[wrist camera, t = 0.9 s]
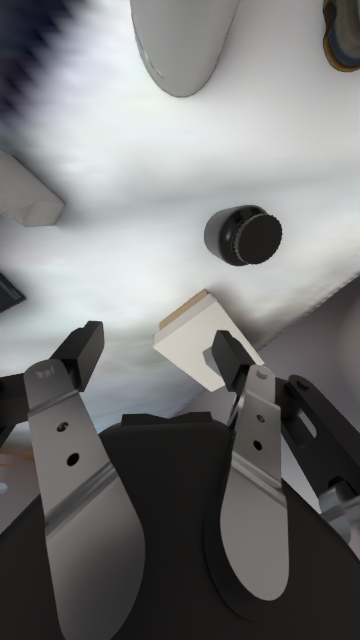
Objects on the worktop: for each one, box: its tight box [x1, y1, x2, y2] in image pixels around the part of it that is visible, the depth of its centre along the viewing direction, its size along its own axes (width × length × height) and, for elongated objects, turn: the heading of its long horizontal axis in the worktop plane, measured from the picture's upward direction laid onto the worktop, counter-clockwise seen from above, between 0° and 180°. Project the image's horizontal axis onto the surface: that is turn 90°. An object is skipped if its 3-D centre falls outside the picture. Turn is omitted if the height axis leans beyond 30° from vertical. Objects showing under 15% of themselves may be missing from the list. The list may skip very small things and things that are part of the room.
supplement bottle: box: [204, 205, 282, 266], centre depth 22 cm, size 7×7×12 cm
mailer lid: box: [153, 293, 264, 392], centre depth 31 cm, size 14×20×6 cm
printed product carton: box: [0, 151, 66, 227], centre depth 18 cm, size 4×7×10 cm, turn 43°
